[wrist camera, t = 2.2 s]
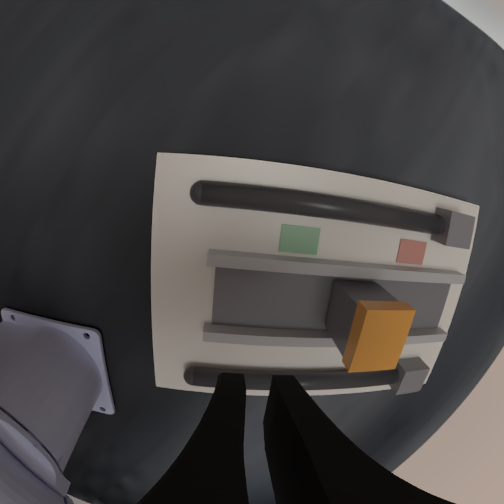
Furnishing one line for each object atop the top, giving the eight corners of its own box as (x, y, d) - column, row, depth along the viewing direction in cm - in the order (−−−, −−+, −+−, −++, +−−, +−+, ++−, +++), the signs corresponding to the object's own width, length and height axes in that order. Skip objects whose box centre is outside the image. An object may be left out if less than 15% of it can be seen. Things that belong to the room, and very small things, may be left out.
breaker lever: (324, 329, 16) (348, 372, 12) (335, 276, 15) (367, 309, 11) (364, 329, 16) (395, 369, 12) (377, 278, 16) (415, 310, 12)
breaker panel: (160, 372, 18) (151, 402, 15) (164, 154, 15) (148, 150, 12) (416, 373, 20) (434, 395, 17) (465, 203, 17) (495, 209, 14)
